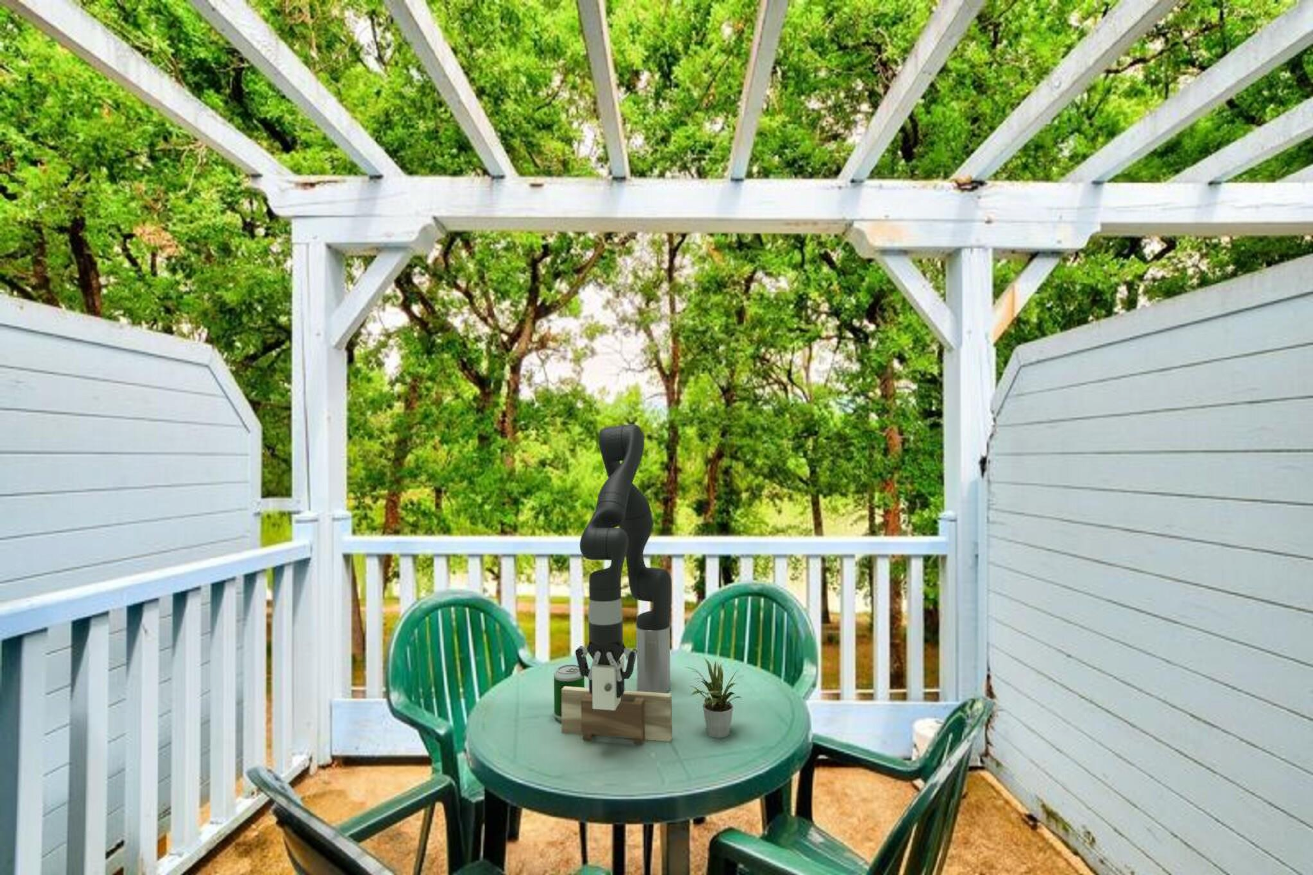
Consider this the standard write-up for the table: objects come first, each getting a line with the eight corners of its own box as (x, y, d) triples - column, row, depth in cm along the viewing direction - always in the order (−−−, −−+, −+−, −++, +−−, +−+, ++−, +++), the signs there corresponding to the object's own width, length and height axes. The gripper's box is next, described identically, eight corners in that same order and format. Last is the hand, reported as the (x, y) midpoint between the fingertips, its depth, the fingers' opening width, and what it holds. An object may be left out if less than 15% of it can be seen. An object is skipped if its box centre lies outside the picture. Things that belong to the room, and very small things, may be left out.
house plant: (674, 723, 144) (673, 655, 144) (724, 713, 149) (723, 647, 150) (701, 750, 131) (700, 675, 131) (755, 737, 136) (754, 665, 136)
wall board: (564, 728, 142) (564, 686, 142) (672, 737, 137) (671, 693, 137) (556, 739, 137) (556, 695, 137) (667, 749, 132) (667, 703, 132)
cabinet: (603, 692, 137) (603, 653, 138) (624, 694, 136) (624, 654, 137) (591, 710, 128) (590, 668, 128) (613, 712, 127) (613, 669, 127)
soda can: (579, 725, 144) (578, 675, 144) (549, 722, 145) (549, 673, 146) (588, 711, 151) (588, 664, 151) (560, 709, 153) (560, 662, 153)
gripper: (641, 614, 134) (642, 691, 134) (580, 612, 137) (581, 687, 136) (633, 624, 126) (634, 705, 126) (568, 621, 129) (570, 700, 129)
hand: (606, 695), depth 131 cm, fingers closed on cabinet, 5 cm apart
